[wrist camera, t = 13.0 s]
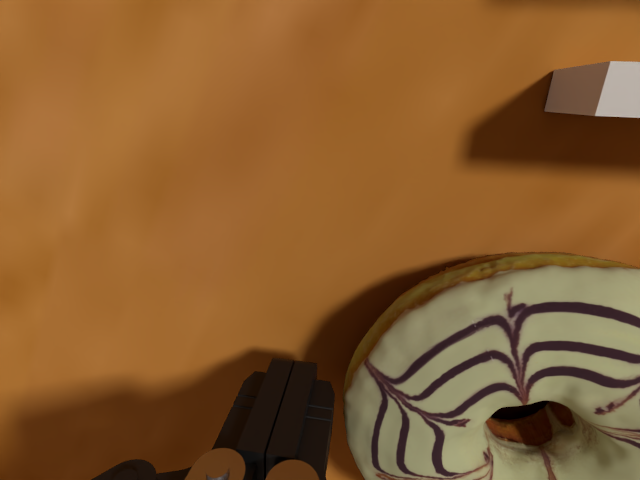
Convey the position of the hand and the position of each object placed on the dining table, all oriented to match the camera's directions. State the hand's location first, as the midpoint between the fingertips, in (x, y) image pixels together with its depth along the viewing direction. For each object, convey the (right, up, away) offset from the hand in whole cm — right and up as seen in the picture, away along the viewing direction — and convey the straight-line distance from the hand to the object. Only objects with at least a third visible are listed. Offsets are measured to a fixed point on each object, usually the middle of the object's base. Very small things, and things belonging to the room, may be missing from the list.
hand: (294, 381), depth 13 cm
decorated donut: (+7, 0, +1) cm, 7 cm away
